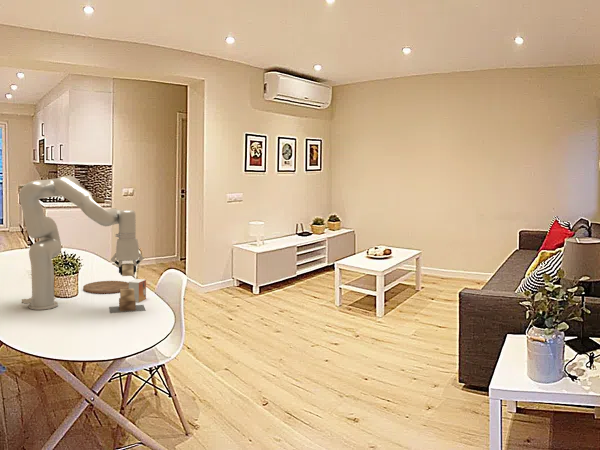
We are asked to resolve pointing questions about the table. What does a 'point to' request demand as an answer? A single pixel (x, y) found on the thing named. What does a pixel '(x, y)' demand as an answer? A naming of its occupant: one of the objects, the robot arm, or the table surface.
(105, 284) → the trivet
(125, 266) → the maple cube
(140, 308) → the slate mat
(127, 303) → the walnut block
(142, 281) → the small box
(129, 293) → the oak block
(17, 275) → the table surface
